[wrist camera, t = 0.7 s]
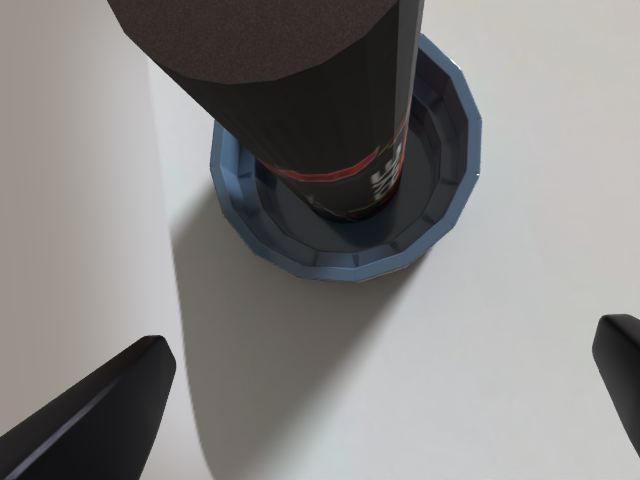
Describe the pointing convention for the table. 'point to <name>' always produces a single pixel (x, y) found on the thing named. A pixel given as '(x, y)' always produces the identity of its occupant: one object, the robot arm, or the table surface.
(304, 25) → the deodorant
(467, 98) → the bowl
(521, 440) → the table surface
